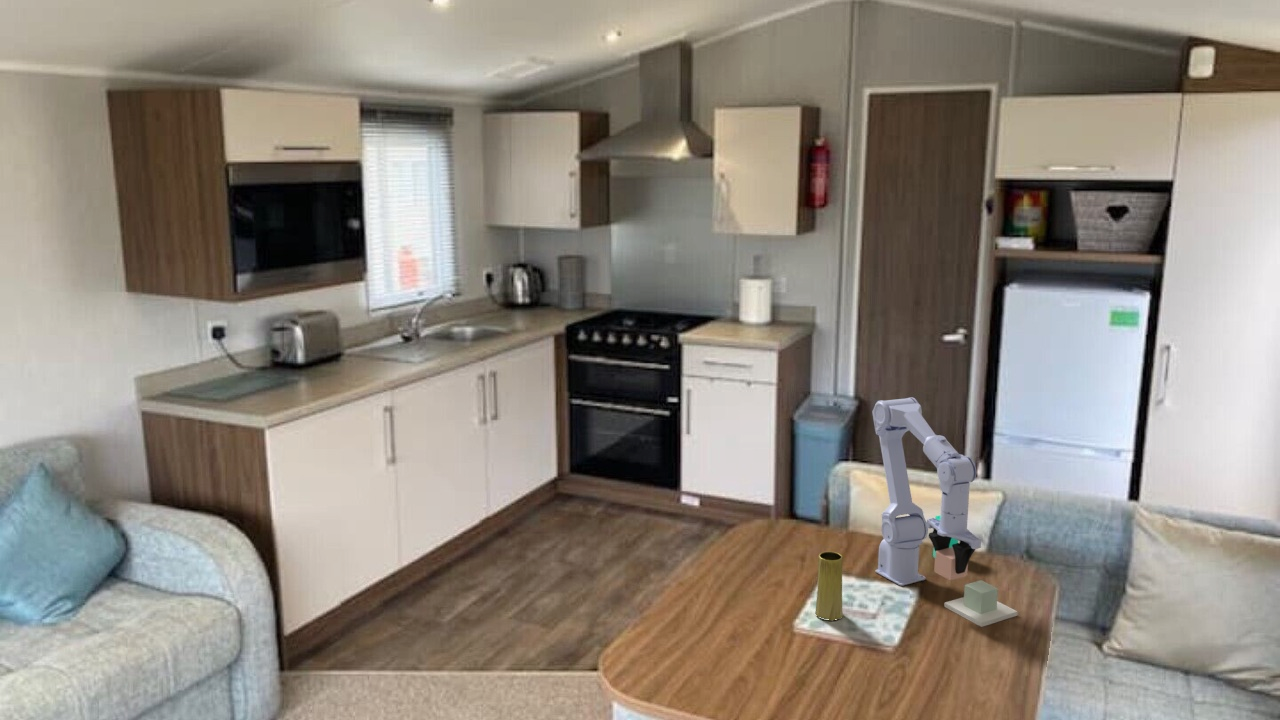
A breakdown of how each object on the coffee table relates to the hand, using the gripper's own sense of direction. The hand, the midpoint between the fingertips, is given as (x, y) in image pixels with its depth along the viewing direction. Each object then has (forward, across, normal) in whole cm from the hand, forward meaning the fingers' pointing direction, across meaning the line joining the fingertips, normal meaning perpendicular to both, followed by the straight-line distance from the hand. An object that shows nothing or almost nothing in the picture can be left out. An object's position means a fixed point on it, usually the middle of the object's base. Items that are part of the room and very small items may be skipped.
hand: (951, 567), depth 215 cm
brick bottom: (+9, +4, +6) cm, 12 cm away
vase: (+11, -11, -25) cm, 29 cm away
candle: (+11, -23, +21) cm, 33 cm away
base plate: (+10, +4, +6) cm, 13 cm away
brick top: (+2, 0, 0) cm, 2 cm away
